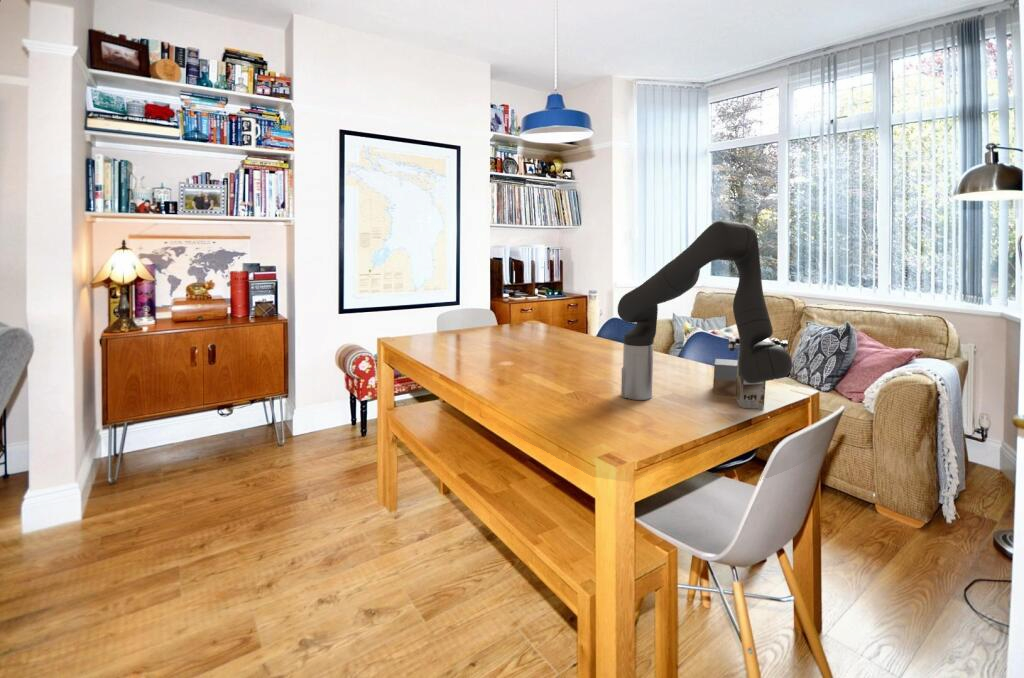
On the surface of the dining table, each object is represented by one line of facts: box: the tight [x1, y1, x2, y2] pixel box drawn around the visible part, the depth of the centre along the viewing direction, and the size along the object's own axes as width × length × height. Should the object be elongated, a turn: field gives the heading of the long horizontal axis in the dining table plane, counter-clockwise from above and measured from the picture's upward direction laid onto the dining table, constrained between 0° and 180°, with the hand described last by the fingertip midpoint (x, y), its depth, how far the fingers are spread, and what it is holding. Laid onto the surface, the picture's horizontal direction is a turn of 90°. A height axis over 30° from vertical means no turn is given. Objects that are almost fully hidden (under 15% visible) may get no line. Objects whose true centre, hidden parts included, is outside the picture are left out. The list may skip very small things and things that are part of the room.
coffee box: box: [735, 349, 767, 410], centre depth 159 cm, size 9×6×16 cm
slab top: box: [713, 358, 738, 381], centre depth 173 cm, size 9×9×5 cm
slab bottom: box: [712, 379, 737, 397], centre depth 174 cm, size 9×9×5 cm
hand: (755, 340), depth 146 cm, fingers open, 8 cm apart
